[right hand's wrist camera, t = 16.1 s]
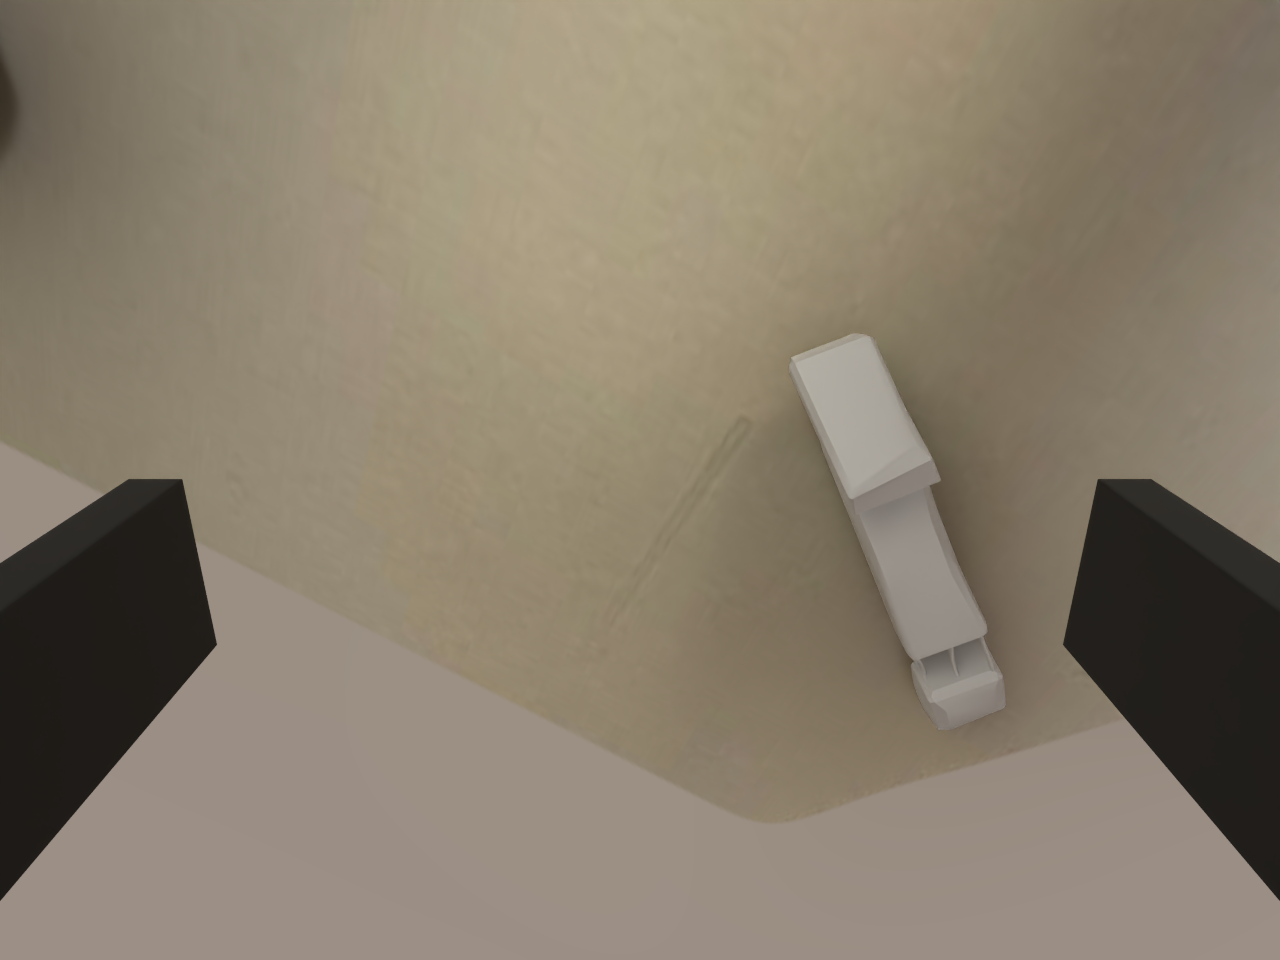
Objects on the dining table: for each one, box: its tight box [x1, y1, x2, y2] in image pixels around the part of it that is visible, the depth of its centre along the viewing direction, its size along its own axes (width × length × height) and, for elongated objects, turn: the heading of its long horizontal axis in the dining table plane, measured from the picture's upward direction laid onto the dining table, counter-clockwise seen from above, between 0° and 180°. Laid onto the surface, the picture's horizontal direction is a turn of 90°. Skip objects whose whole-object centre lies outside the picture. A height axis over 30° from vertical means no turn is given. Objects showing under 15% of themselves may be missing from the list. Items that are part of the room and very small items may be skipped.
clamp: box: [789, 333, 1006, 730], centre depth 37 cm, size 20×4×7 cm, turn 25°
